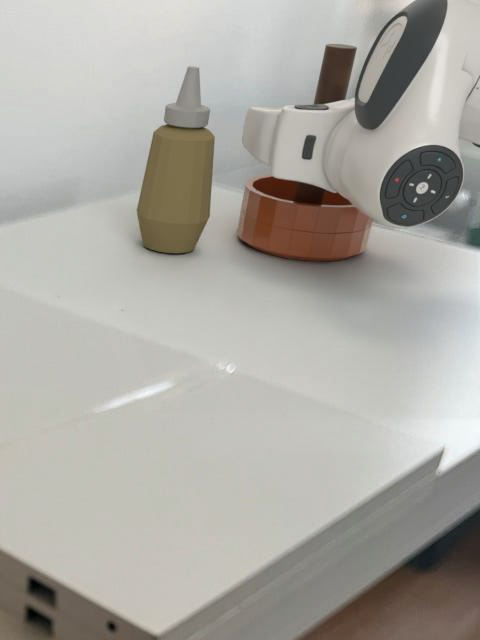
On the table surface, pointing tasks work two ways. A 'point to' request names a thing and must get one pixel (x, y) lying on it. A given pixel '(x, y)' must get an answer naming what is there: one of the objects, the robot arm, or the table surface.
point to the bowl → (300, 223)
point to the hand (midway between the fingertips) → (322, 120)
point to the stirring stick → (329, 101)
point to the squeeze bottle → (178, 174)
